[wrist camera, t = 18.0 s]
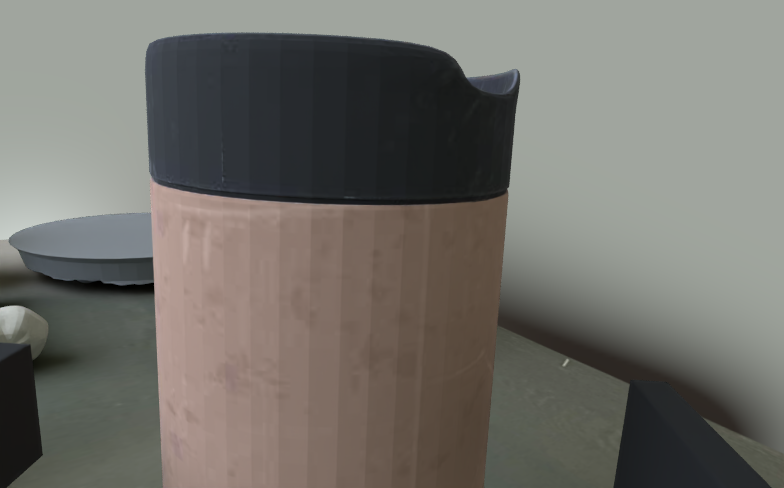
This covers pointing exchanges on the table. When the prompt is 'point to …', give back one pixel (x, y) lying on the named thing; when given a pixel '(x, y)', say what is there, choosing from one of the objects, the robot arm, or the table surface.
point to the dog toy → (23, 328)
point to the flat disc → (91, 248)
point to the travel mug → (325, 259)
